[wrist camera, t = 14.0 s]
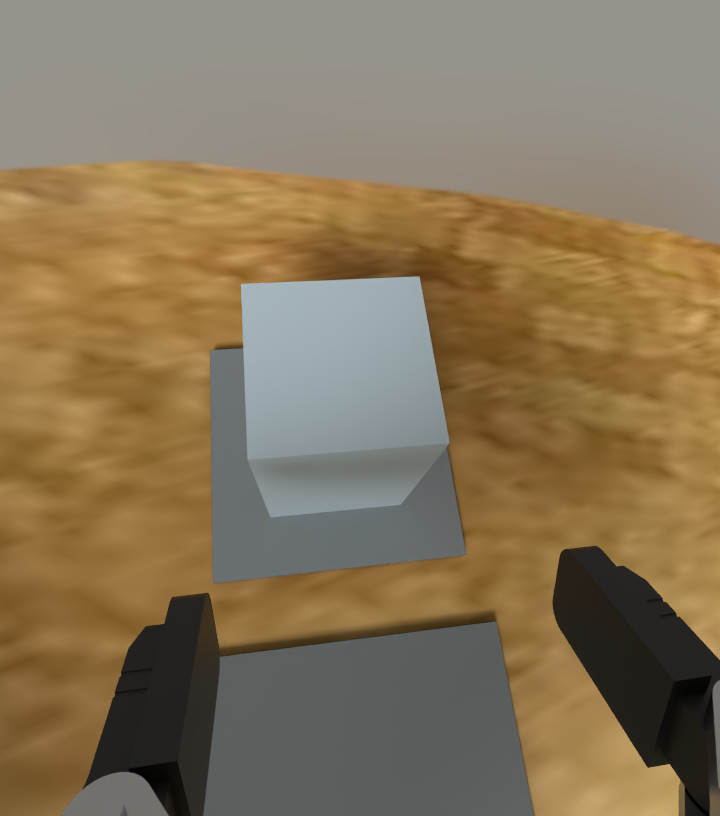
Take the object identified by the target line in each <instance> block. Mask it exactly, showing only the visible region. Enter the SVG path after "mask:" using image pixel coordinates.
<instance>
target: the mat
mask: <svg viewBox="0 0 720 816" xmlns="http://www.w3.org/2000/svg"><path fill="white" fill-rule="evenodd" d="M203 816H534V815H533V809H532V804H531V799H530V794H529V789H528V783H527V778H526V773H525V768H524V762H523V757H522V752H521V747H520V742H519V736H518V731H517V726H516V721H515V716H514V710H513V705H512V700H511V695H510V689H509V684H508V679H507V674H506V669H505V663H504V658H503V653H502V648H501V643H500V637H499V632H498V627H497V622H496V621H493V622H485V623H478V624H470V625H462V626H454V627H446V628H439V629H431V630H423V631H415V632H407V633H399V634H392V635H384V636H376V637H368V638H360V639H353V640H345V641H337V642H329V643H321V644H313V645H306V646H298V647H290V648H282V649H274V650H267V651H259V652H251V653H243V654H235V655H227V656H220V672H219V682H218V691H217V700H216V709H215V717H214V726H213V735H212V744H211V752H210V761H209V770H208V779H207V787H206V796H205V805H204V814H203Z"/></svg>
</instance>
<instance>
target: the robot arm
mask: <svg viewBox="0 0 720 816" xmlns="http://www.w3.org/2000/svg"><path fill="white" fill-rule="evenodd" d="M553 611H554V615H555V619H556V621H557V624H558V626H559V628H560V630H561V631H562V633H563V634H564V636H565V638H566V639H567V641H568V642H569V644H570V645H571V647H572V649H573V650H574V652H575V653H576V655H577V657H578V658H579V660H580V661H581V663H582V664H583V666H584V668H585V669H586V671H587V672H588V674H589V676H590V677H591V679H592V680H593V682H594V683H595V685H596V687H597V688H598V690H599V691H600V693H601V695H602V696H603V698H604V699H605V701H606V702H607V704H608V706H609V707H610V709H611V710H612V712H613V714H614V715H615V717H616V718H617V720H618V721H619V723H620V725H621V726H622V728H623V729H624V731H625V732H626V734H627V736H628V737H629V739H630V740H631V742H632V744H633V745H634V747H635V748H636V750H637V751H638V753H639V755H640V756H641V758H642V759H643V761H644V763H645V764H646V766H647V767H648V768H649V767H655V766H660V765H666V764H670V765H671V766H672V768H673V769H674V771H675V772H676V774H677V775H678V777H679V778H680V780H681V781H680V784H679V816H720V660H719V659H718V658H717V657H716V656H715V655H714V653H713V652H712V651H711V650H710V649H709V648H708V647H707V646H706V645H705V644H704V643H703V642H702V640H701V639H700V638H699V637H698V636H697V635H696V634H695V633H694V632H693V631H692V630H691V629H690V627H689V626H688V625H687V624H686V623H685V622H684V621H683V620H682V619H681V618H680V617H677V616H676V612H675V611H674V610H673V609H672V608H671V607H670V606H669V605H668V604H667V603H666V602H663V600H662V597H661V596H660V595H659V594H658V593H657V592H656V591H655V590H654V588H653V587H652V586H651V585H650V584H649V583H648V582H647V581H646V580H645V579H643V578H642V577H640V576H638V575H637V574H635V573H634V572H632V571H631V570H629V569H628V568H626V567H624V566H618V567H616V565H615V564H614V563H613V562H612V561H611V560H610V559H609V557H608V556H607V555H606V554H605V553H604V552H603V551H602V550H601V549H600V548H599V547H597V546H590V547H581V548H573V549H565V550H563V551H562V552H561V554H560V558H559V564H558V570H557V577H556V583H555V589H554V595H553ZM219 672H220V655H219V644H218V638H217V633H216V627H215V621H214V616H213V610H212V604H211V599H210V595H209V594H208V593H202V594H194V595H186V596H177V597H172V599H171V601H170V604H169V608H168V612H167V616H166V620H165V624H161V625H153V626H146V627H145V628H144V629H143V631H142V632H141V633H140V634H139V636H138V637H137V638H136V640H135V641H134V642H133V643H132V645H131V646H130V647H129V649H128V652H127V655H126V658H125V662H124V665H123V668H122V671H121V677H120V678H119V681H118V684H117V687H116V690H115V697H113V700H112V703H111V706H110V709H109V713H108V716H107V719H106V722H105V725H104V728H103V732H102V735H101V738H100V741H99V744H98V748H97V751H96V754H95V757H94V760H93V763H92V767H91V770H90V773H89V776H88V778H87V781H86V783H85V785H84V787H83V789H82V791H80V792H79V793H78V794H77V795H76V796H75V797H74V798H73V799H72V801H71V802H70V803H69V804H68V806H67V807H66V808H65V810H64V812H63V813H62V815H61V816H203V814H204V805H205V796H206V787H207V779H208V770H209V761H210V752H211V744H212V735H213V726H214V717H215V709H216V700H217V691H218V682H219Z"/></svg>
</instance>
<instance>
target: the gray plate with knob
mask: <svg viewBox="0 0 720 816" xmlns="http://www.w3.org/2000/svg"><path fill="white" fill-rule="evenodd" d="M210 373H211V456H212V538H213V583H215V584H218V583H227V582H236V581H244V580H253V579H262V578H271V577H280V576H289V575H298V574H307V573H316V572H325V571H334V570H343V569H352V568H361V567H370V566H379V565H388V564H397V563H406V562H415V561H424V560H433V559H442V558H451V557H460V556H465V555H466V551H465V545H464V540H463V534H462V529H461V523H460V517H459V512H458V506H457V501H456V495H455V490H454V484H453V479H452V473H451V468H450V462H449V456H448V451H447V447H446V449H445V450H444V451H443V452H442V454H441V455H440V456H439V457H438V459H437V460H436V461H435V462H434V464H433V465H432V466H431V467H430V469H429V470H428V471H427V472H426V474H425V475H424V476H423V477H422V479H421V480H420V481H419V482H418V484H417V485H416V486H415V487H414V489H413V490H412V491H411V492H410V494H409V495H408V496H407V497H406V499H405V500H404V501H403V502H402V504H401V505H394V506H384V507H373V508H363V509H353V510H342V511H332V512H322V513H311V514H301V515H291V516H280V517H270V515H269V512H268V510H267V507H266V505H265V502H264V500H263V497H262V495H261V492H260V490H259V487H258V485H257V482H256V480H255V478H254V475H253V473H252V470H251V468H250V465H249V463H248V460H247V434H246V406H245V379H244V352H243V348H240V349H222V350H210Z"/></svg>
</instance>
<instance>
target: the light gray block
mask: <svg viewBox="0 0 720 816" xmlns="http://www.w3.org/2000/svg"><path fill="white" fill-rule="evenodd" d="M241 297H242V325H243V352H244V379H245V406H246V434H247V460H248V463H249V465H250V468H251V470H252V473H253V475H254V478H255V480H256V482H257V485H258V487H259V490H260V492H261V495H262V497H263V500H264V502H265V505H266V507H267V510H268V512H269V515H270V517H280V516H291V515H301V514H311V513H322V512H332V511H342V510H353V509H363V508H373V507H384V506H394V505H401V504H402V502H403V501H404V500H405V499H406V497H407V496H408V495H409V494H410V492H411V491H412V490H413V489H414V487H415V486H416V485H417V484H418V482H419V481H420V480H421V479H422V477H423V476H424V475H425V474H426V472H427V471H428V470H429V469H430V467H431V466H432V465H433V464H434V462H435V461H436V460H437V459H438V457H439V456H440V455H441V454H442V452H443V451H444V450H445V449H446V447H447V446H448V445H449V443H450V442H449V436H448V431H447V425H446V420H445V414H444V409H443V403H442V398H441V392H440V387H439V381H438V376H437V370H436V365H435V359H434V354H433V348H432V343H431V337H430V332H429V326H428V321H427V315H426V310H425V304H424V299H423V293H422V288H421V282H420V277H419V276H418V277H394V278H371V279H348V280H325V281H302V282H279V283H255V284H241Z"/></svg>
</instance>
